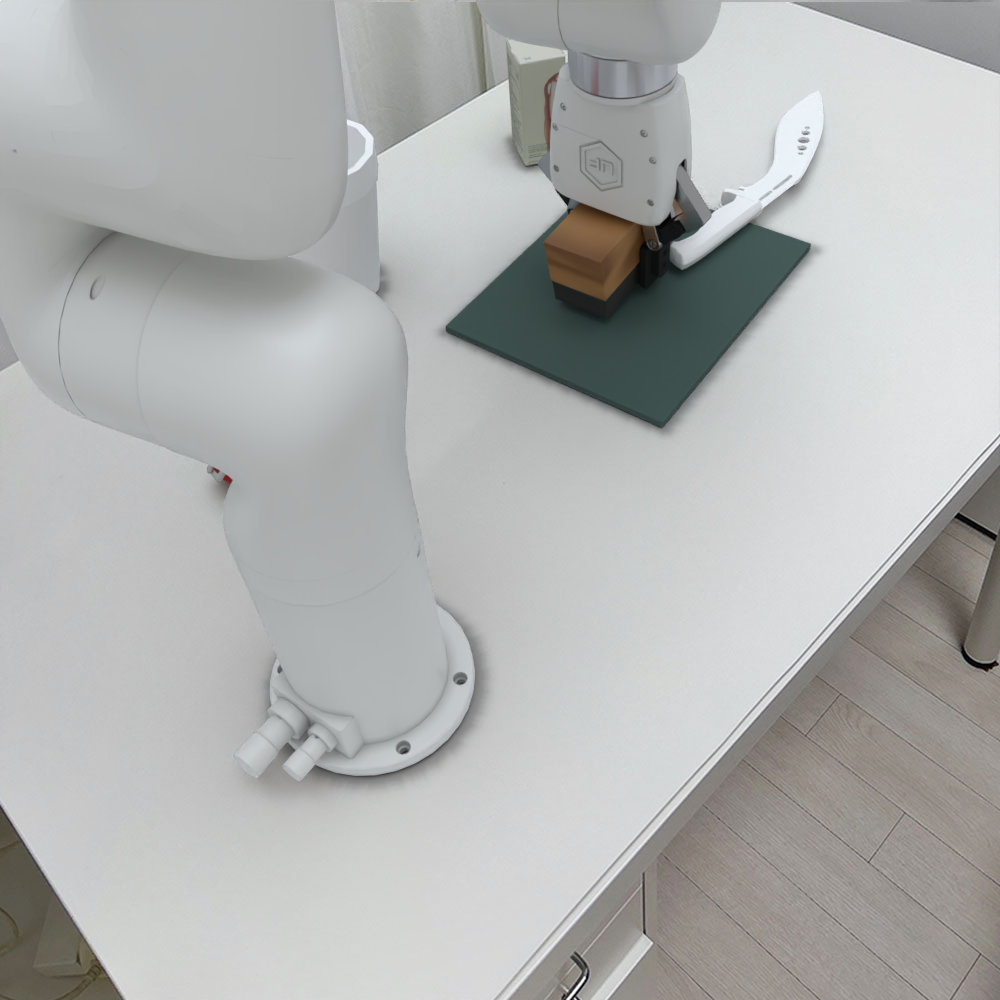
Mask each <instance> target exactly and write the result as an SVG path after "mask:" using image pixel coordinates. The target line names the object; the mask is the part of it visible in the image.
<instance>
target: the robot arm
mask: <svg viewBox="0 0 1000 1000" xmlns="http://www.w3.org/2000/svg"><path fill="white" fill-rule="evenodd" d="M722 1H723V0H475V2H476V6H477V9H478V11H479V14H480V15H481V18H482V19H483V21H484V22H485V24H486V25H488V27H489V28H490V29H491V30H493V31H494V32H495V33H497V34H498V35H500V36H502V37H504V38H506V39H508V38H509V39H511V40H514V41H518V42H522V43H526V44H532V45H538V46H544V47H550V48H556V49H561V50H563V51H567V61H566V62H565V63H566V64H564V65H563V66H562V67H561V69H560V71H559V76H558V80H557V85H556V90H555V96H554V102H553V109H552V119H551V134H550V151H549V152H547V153H546V154H545V155H544V156H543V157H542V158H541V159H540V160H539V161H538V164H537V166H538V169H540V170H541V172H542V173H543V174H544V176H545V177H546V178H547V179H548V181H550V183H551V184H552V186H553V188H554V191H555V192H556V193H557V195H558V196H559V197H560V199H561V200H562V201H563V203H564V204H565V205H566V207H567V208H566V211H565V212H567V215H569V214H570V213H571V211H572V210H573V209H574V208H575V207H576V206H577V205H578V204H579V203H580V202H581V203H583V204H586V205H589V206H591V207H594V208H596V209H599V210H602V211H604V212H607V213H610V214H613V215H615V216H618V217H621V218H623V219H626V220H629V221H631V222H634V223H637V224H641V226H642V230H643V233H644V237H645V241H646V242H645V243H644V244H643V245H642V246H641V248H640V251H639V258H640V262H639V285H640V287H642V288H644V289H648V288H649V287H650V286H651V284H652V283H653V282H654V281H655V280H656V279H657V278H658V277H659V278H661V277H662V276H663V275H664V274H665V273H666V272H667V270H668V267H669V260H670V242H671V241H673V240H675V239H677V238H679V237H680V236H681V235H683V234H685V233H689V232H692V231H694V230H697V229H699V228H701V227H703V226H704V225H705V224H706V222H707V221H708V220H709V219H710V218H711V216H712V214H711V211H710V210H709V209H710V208H709V206H708V205H707V203H706V201H705V200H704V198H703V197H702V195H701V194H700V192H699V190H698V189H697V187H696V186H695V185H696V184H695V183H694V182H693V180H692V170H693V168H692V167H693V141H692V120H691V119H692V118H691V111H690V102H689V96H688V89H687V85H686V84H687V83H686V80H685V77H684V76H683V75H682V74H680V73H678V71H679V70H678V69H679V64H683V63H685V62H687V61H689V60H690V59H692V58H693V57H694V56H695V55H697V54H698V53H699V52H700V51H701V50H702V49H703V47H705V46H706V44H707V42H708V41H709V39H710V38H711V36H712V34H713V32H714V30H715V27H716V24H717V23H718V19H719V15H720V12H721V7H722ZM335 2H336V1H335V0H0V319H1V322H2V325H3V326H4V329H5V332H6V334H7V337H8V339H9V341H10V344H11V346H12V348H13V350H14V352H15V354H16V355H15V356H16V357H17V359H18V361H19V363H20V364H21V366H22V368H23V369H24V371H25V372H26V374H27V376H28V377H29V378H30V381H31V382H32V383H33V384H34V385H35V386H36V388H37V389H38V390H39V391H40V392H41V393H42V394H43V396H44V397H47V398H48V399H49V400H50V401H51V402H53V404H55V405H57V406H58V407H60V408H62V410H63V409H64V410H65V411H67V412H69V413H70V414H73V415H75V416H78V417H80V418H81V419H84V420H87V421H90V422H92V423H95V424H98V425H100V426H102V427H105V428H107V429H110V430H114V431H116V432H119V433H122V434H125V435H128V436H131V437H133V438H137V439H139V440H142V441H145V442H148V443H151V444H153V445H157V446H159V447H163V448H166V449H167V450H168V451H170V452H173V453H176V454H178V455H182V456H185V457H187V458H190V459H193V460H196V461H198V462H201V463H204V464H205V465H207V466H208V465H210V466H212V467H214V468H216V469H218V470H220V471H221V472H223V473H225V474H226V475H228V476H229V477H230V478H231V479H232V480H233V481H232V483H230V484H229V487H228V489H227V493H226V494H225V498H224V501H223V506H222V527H223V532H224V536H225V539H226V543H227V545H228V548H229V551H230V553H231V556H232V557H233V560H234V562H235V565H236V568H237V570H239V571H238V572H239V573H240V575H241V577H242V579H243V582H244V585H245V586H246V589H247V591H248V594H249V596H250V598H251V600H252V603H253V605H254V607H255V609H256V612H257V614H258V616H259V619H260V621H261V623H262V625H263V628H264V630H265V633H266V635H267V638H268V639H269V642H270V644H271V646H272V649H273V651H274V653H275V656H276V658H275V661H274V663H273V665H272V670H271V675H270V679H269V701H270V705H271V706H270V707H269V708H267V710H266V713H267V715H268V718H267V719H266V720H265V721H264V722H263V724H261V726H260V727H259V728H258V729H257V730H256V731H253V733H251V735H249V737H248V738H247V739H246V740H245V741H244V742H243V743H242V744H241V745H240V747H238V748H237V750H236V751H235V752H234V753H233V754H232V756H231V757H232V759H233V760H234V762H235V763H236V764H237V765H238V766H239V767H240V768H241V769H242V770H243V771H244V772H245V773H247V774H248V775H249V776H251V777H253V778H256V779H258V778H259V777H260V776H261V775H262V773H264V772H265V770H266V769H267V768H268V767H269V766H270V765H271V764H272V762H273V761H274V760H275V759H276V758H277V757H278V756H279V752H280V751H281V750H282V749H283V748H284V747H285V746H286V745H287V743H288V745H289V746H290V747H292V749H293V750H294V752H292V754H291V755H290V756H289V757H288V758H287V759H286V760H285V761H284V762H283V764H282V765H281V766H282V769H283V770H284V771H285V772H286V773H287V775H289V776H290V777H291V778H292V779H293V780H295V781H297V782H302V780H304V778H305V777H306V776H307V775H308V774H309V772H310V771H311V770H312V769H313V768H314V767H315V766H316V767H319V768H321V769H324V770H327V771H329V772H332V773H335V774H342V775H347V776H355V777H359V776H360V777H361V776H362V777H365V776H367V777H368V776H380V775H383V774H387V773H393V772H397V771H400V770H402V769H406V768H407V767H410V766H412V765H415V764H417V763H419V762H420V761H421V760H423V759H425V758H427V757H428V756H430V755H432V754H433V753H434V752H436V751H437V750H438V749H439V748H440V747H441V746H443V745H444V744H445V743H446V742H447V741H448V740H450V738H451V737H452V735H453V734H454V733H455V731H457V729H458V728H459V727H460V725H461V724H462V722H463V720H464V718H465V716H466V714H467V712H468V711H469V708H470V706H471V702H472V699H473V695H474V693H475V682H476V670H475V661H474V656H473V652H472V647H471V643H470V641H469V639H468V637H467V635H466V633H465V632H464V629H463V628H462V626H461V625H460V624H459V623H458V622H457V621H456V619H455V617H453V616H452V615H451V614H450V613H449V612H448V611H447V610H445V609H444V608H443V607H442V606H441V605H439V604H437V601H436V597H435V592H434V588H433V587H434V586H433V582H432V576H431V572H430V568H429V563H428V558H427V553H426V548H425V543H424V538H423V534H422V529H421V524H420V519H419V516H418V515H419V514H418V509H417V504H416V501H415V496H414V491H413V486H412V481H411V474H410V469H409V462H408V453H407V437H406V436H407V433H406V424H407V422H406V421H407V420H406V418H407V401H408V386H409V354H408V353H409V352H408V343H407V339H406V335H405V332H404V329H403V326H402V324H401V322H400V320H399V318H398V317H397V315H396V313H395V311H393V310H392V308H391V307H390V306H389V305H388V304H387V303H386V301H384V299H382V298H381V296H379V295H378V294H377V293H376V294H375V293H374V292H373V291H371V290H370V289H368V288H367V287H365V286H364V285H362V284H360V283H358V282H356V281H354V280H352V279H351V278H349V277H347V276H345V275H342V274H340V273H337V272H335V271H332V270H330V269H328V268H325V267H322V266H319V265H316V264H313V263H310V262H306V261H303V260H299V259H295V258H292V257H289V256H292V255H295V254H298V253H300V252H302V251H304V250H306V249H309V248H310V247H311V246H313V245H314V244H316V243H317V242H318V241H319V240H320V239H321V238H322V237H323V236H324V235H325V234H326V233H327V232H328V231H329V230H330V228H331V227H332V225H333V224H334V222H335V221H336V219H337V217H338V214H339V211H340V208H341V205H342V202H343V199H344V196H345V192H346V186H347V176H348V131H347V119H348V117H347V108H346V107H347V106H346V97H345V96H346V95H345V89H344V88H345V87H344V77H343V69H342V58H341V51H340V50H341V49H340V40H339V39H340V38H339V30H338V21H337V20H338V19H337V13H336V12H337V11H336V3H335ZM674 199H675V200H676V202H677V203H678V205H679V207H680V208H681V210H682V212H683V213H680V214H678V215H677V216H675V212H674V208H673V200H674ZM659 224H660V225H659ZM404 752H406V753H404Z"/></svg>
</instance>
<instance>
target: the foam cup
mask: <svg viewBox="0 0 1000 1000" xmlns="http://www.w3.org/2000/svg"><path fill="white" fill-rule="evenodd" d="M347 131H348V176H347V186H346V192H345V196H344V199H343V202H342V205H341V208H340V211H339V214H338V217H337V219H336V221H335V222H334V224H333V225H332V227H331V228H330V230H329V231H328V232H327V233H326V234H325V235H324V236H323V237H322V238H321V239H320V240H319V241H318V242H317V243H316V244H314V245H313V246H311V247H310V248H309V249H306V250H304V251H302V252H300V253H298V254H295V255H292V256H288V257H292V258H295V259H299V260H303V261H306V262H310V263H313V264H316V265H319V266H322V267H325V268H328V269H330V270H332V271H335V272H337V273H340V274H342V275H345V276H347V277H349V278H351V279H352V280H354V281H356V282H358V283H360V284H362V285H364V286H365V287H367V288H368V289H370V290H371V291H373V292H374V293H375V294H376V295H377V292H378V291H379V290H380V287H381V286H380V284H381V264H380V262H381V261H380V238H379V235H380V234H379V213H378V209H379V208H378V189H377V188H378V186H377V185H378V184H377V182H378V181H379V159H378V155H377V154H378V153H377V149H376V144H375V143H376V142H375V138H374V136H373V135H372V133H370V132H369V130H368V129H367V128H366V127H365V126H364V125H363V124H361V123H358V122H356V121H353V120H350V119H348V118H347Z"/></svg>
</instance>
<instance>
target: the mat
mask: <svg viewBox="0 0 1000 1000" xmlns="http://www.w3.org/2000/svg"><path fill="white" fill-rule="evenodd" d="M709 210H710V211H711V214H712V213H713V212H714V211H715V210H714V209H712V208H709ZM567 216H568V215H567V212H566V211H565V212H564V213H563V214H562V215H561V216H560V217H559V218H558V219H557V220H556V221H555V222H553V224H551V225H550V226H549V227H548V228H547V229H546V230H545V231H544V232H543V233H542V234H541V235H540V236H538V238H537V239H536V240H534V242H532V243H531V244H530V245H529V246H528V247H527V248H526V249H525V250H524V251H523V252H522V253H520V255H519V256H517V258H516V259H515V260H513V261H512V263H510V265H508V266H507V267H506V268H505V269H504V270H503V271H502V272H501V273H500V274H499V275H497V276H496V277H495V278H494V279H493V280H492V281H491V282H490V283H489V284H488V285H487V286H486V287H485V288H484V289H482V290H481V292H480V293H479V294H478V295H477V296H475V298H473V299H472V300H471V301H470V302H469V303H468V304H467V305H466V306H465V307H464V308H463V309H462V310H460V311H459V312H458V313H457V314H456V315H455V316H454V317H453V318H452V319H451V320H450V321H448V323H447V324H446V325H445V332H446V333H448V334H451V335H453V336H455V337H457V338H459V339H462V340H463V341H466V342H469V343H470V344H473V345H475V346H478V347H479V348H482V349H484V350H487V351H488V352H490V353H493V354H496V355H497V356H499V357H502V358H504V359H507V360H509V361H511V362H514V363H516V364H517V365H519V366H522V367H524V368H526V369H529V370H531V371H533V372H536V373H538V374H540V375H542V376H545V377H548V378H549V379H551V380H553V381H556V382H558V383H561V384H562V385H565V386H567V387H569V388H571V389H574V390H576V391H579V392H581V393H583V394H584V395H587V396H590V397H592V398H594V399H596V400H598V401H600V402H603V403H605V404H606V405H609V406H612V407H613V408H617V409H619V410H621V411H624V413H625V412H626V413H627V414H630V415H632V416H634V417H637V418H639V419H640V420H643V421H646V422H648V423H649V424H652V425H655V426H657V427H659V428H661V429H662V428H664V427H665V425H666V424H667V423H668V422H669V421H670V419H671V418H672V417H673V415H674V414H675V413H677V411H678V410H679V409H680V407H681V406H682V404H684V402H685V401H686V400H687V399H688V398H689V396H691V394H692V393H693V392H694V390H695V389H696V388H697V387H698V385H700V383H701V382H702V380H703V379H704V378H705V377H706V376H707V375H708V374H709V372H710V371H711V370H712V368H713V367H714V366H715V365H716V364H717V363H718V362H719V360H720V359H721V358H722V356H723V355H724V354H725V353H726V352H727V351H728V349H729V348H730V347H731V345H733V343H734V342H735V341H736V340H737V338H738V337H739V336H740V335H741V334H742V332H743V331H744V330H745V329H746V327H747V326H748V325H749V324H750V323H751V322H752V320H753V319H754V318H755V317H756V315H757V314H758V313H759V311H761V309H762V308H763V307H764V305H765V304H767V302H768V301H769V299H770V298H771V297H772V296H773V295H774V293H775V292H777V290H778V289H779V288H780V286H781V285H782V284H783V283H784V282H785V280H786V279H787V278H788V277H789V275H791V273H792V272H793V271H794V269H796V268H797V266H798V264H800V263H801V261H802V260H803V258H804V257H805V256H806V255H807V254H808V253H809V251H810V250H811V247H812V243H810V242H807V241H804V240H802V239H798V238H795V237H792V236H790V235H787V234H784V233H781V232H778V231H775V230H773V229H770V228H766V227H763V226H761V225H758V224H755V223H752V222H749V223H748V224H746V225H745V226H744V227H743V228H741V229H740V230H739V231H737V232H736V233H735V234H733V235H732V236H731V237H730V238H728V239H727V240H726V241H724V242H723V243H722V244H720V245H719V246H718V247H717V248H715V249H714V250H713V251H711V252H710V253H709V254H707V255H706V256H705V257H703V258H702V259H701V260H699V261H698V262H696V263H694V264H693V265H691V266H689V267H688V268H686V269H683V270H681V269H679V268H678V267H677V266H675V265H674V264H673V263H672V262H671V261H670V260H669V267H668V270H667V272H666V273H665V274H664V275H663V276H662V277H661V278H659V277H658V278H657V279H656V280H655V281H654V282H653V283H652V284H651V286H650V287H649V288H648V289H644V288H642V287H640V285H639V282H638V283H637V285H636V286H635V287H634V288H633V289H632V290H631V292H630V293H629V294H628V295H627V296H626V297H625V299H624V300H623V301H622V302H621V303H620V305H619V306H618V307H617V308H616V309H615V310H614V312H613V313H612V314H611V315H610V316H609V318H608V319H605V318H603V317H600V316H598V315H595V314H593V313H590V312H588V311H585V310H583V309H580V308H577V307H575V306H572V305H570V304H567V303H565V302H562V301H560V300H557V299H556V298H555V294H554V288H553V283H552V280H551V278H550V273H549V268H548V262H547V257H546V252H545V247H544V241H545V240H546V239H547V238H548V236H549V235H550V234H551V233H552V232H553V231H554V230H555V229H556V228H557V227H558V226H559V225H560V223H561V222H562V221H563V220H564V219H565V218H566V217H567ZM699 229H700V228H699ZM699 229H697V230H694V231H692V232H689V233H685V234H683V235H681V236H680V237H679V238H677V239H675V240H674V242H678V241H681V240H684V239H686V238H688V237H690V236H692V235H694V234H695V233H696V232H697V231H699Z"/></svg>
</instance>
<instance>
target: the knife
mask: <svg viewBox="0 0 1000 1000" xmlns="http://www.w3.org/2000/svg"><path fill="white" fill-rule="evenodd" d="M824 115H825V114H824V103H823V98H822V94H821V90H820V89H818V90H816V91H814V92H812V93H810V94H808V95H806V96H805V97H804V98H802V99H800V100H799V101H798V102H797V103H795V104H794V105H793V106H792V107H790V108H789V110H787V112H786V113H785V114H783V116H782V117H781V119H780V120H779V122H778V124H777V127H776V129H775V137H774V146H773V147H774V148H773V149H774V151H773V152H774V154H773V160H772V164H771V166H770V168H769V170H768V171H767V172H766V173H765V175H764V176H763V177H762V178H761V179H759V180H758V181H757V182H754V183H752V184H751V185H749V186H741V185H739V186H738V189H736V190H735V189H733V188H724V189H723V190H722V192H721V196H720V203H721V207H719V208H718V209H716V210H714V212H713V213H712V216H711V218H710V219H709V220H708V221H707V222H706V224H705V225H704V226H703V227H701V228H700V229H699V231H697V232H696V233H695V234H694V235H692V236H690V237H688V238H686V239H684V240H681V241H678V242H674V241H673V242H672V243H671V245H670V261H671V262H672V263H673V264H674V265H675V266H677V267H678V268H679V269H681V270H683V269H686V268H688V267H689V266H691V265H693V264H694V263H696V262H698V261H699V260H701V259H702V258H703V257H705V256H706V255H707V254H709V253H710V252H711V251H713V250H714V249H715V248H717V247H718V246H719V245H720V244H722V243H723V242H724V241H726V240H727V239H728V238H730V237H731V236H732V235H733V234H735V233H736V232H737V231H739V230H740V229H741V228H743V227H744V226H745V225H746V224H748V223H751V222H752V221H754V219H756V218H758V217H759V216H760V215H761V214H762V212H763V209H764V208H765V207H767V206H768V205H769V204H770V203H772V202H773V201H774V200H776V199H777V198H778V197H779V196H781V195H782V194H783V193H785V192H787V190H789V189H790V188H791V187H792V186H795V185H797V184H798V183H800V182H801V179H802V177H803V176H804V175H805V173H806V171H807V169H808V167H809V165H810V163H811V161H812V159H813V158H814V155H815V153H816V150H817V149H818V145H819V143H820V140H821V138H822V134H823V130H824V121H825V120H824V118H825V116H824ZM800 141H807V142H806V143H805V142H800ZM801 149H802V150H801Z"/></svg>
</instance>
